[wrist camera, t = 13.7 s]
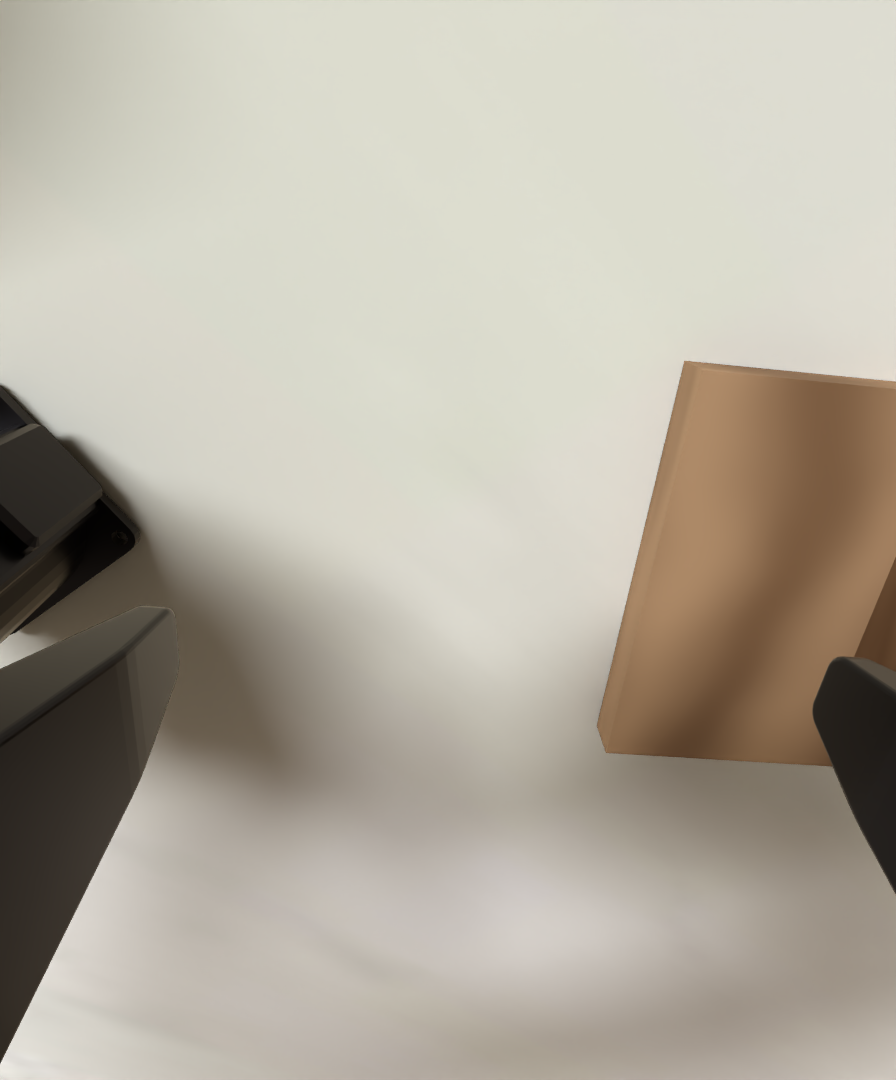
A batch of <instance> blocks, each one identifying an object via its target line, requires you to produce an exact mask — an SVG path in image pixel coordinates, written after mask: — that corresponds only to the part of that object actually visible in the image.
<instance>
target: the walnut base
mask: <svg viewBox="0 0 896 1080" xmlns="http://www.w3.org/2000/svg"><path fill="white" fill-rule="evenodd" d="M839 656H846V657H860V658H866V659H870V660H872V661H874V662H876V663H878V664H880V665H883V666H885V667H887V668H889V669H891V670H893V671H895V672H896V382H893V381H883V380H872V379H862V378H852V377H842V376H832V375H822V374H812V373H802V372H792V371H782V370H771V369H761V368H751V367H741V366H731V365H721V364H711V363H701V362H691V361H684V365H683V369H682V373H681V378H680V382H679V386H678V390H677V394H676V398H675V403H674V407H673V411H672V415H671V419H670V423H669V428H668V432H667V436H666V440H665V444H664V448H663V453H662V457H661V461H660V465H659V469H658V473H657V478H656V482H655V486H654V490H653V494H652V498H651V502H650V507H649V511H648V515H647V519H646V523H645V527H644V532H643V536H642V540H641V544H640V548H639V552H638V557H637V561H636V565H635V569H634V573H633V577H632V582H631V586H630V590H629V594H628V598H627V602H626V606H625V611H624V615H623V619H622V623H621V627H620V631H619V636H618V640H617V644H616V648H615V652H614V656H613V661H612V665H611V669H610V673H609V677H608V681H607V686H606V690H605V694H604V698H603V702H602V706H601V711H600V715H599V719H598V723H597V728H598V730H599V733H600V736H601V739H602V742H603V745H604V748H605V751H606V753H618V754H635V755H652V756H668V757H685V758H702V759H718V760H735V761H752V762H768V763H785V764H802V765H818V766H832V763H831V761H830V759H829V756H828V754H827V752H826V749H825V747H824V745H823V742H822V740H821V737H820V735H819V733H818V730H817V728H816V726H815V723H814V720H813V715H812V708H813V702H814V700H815V697H816V695H817V692H818V690H819V687H820V685H821V682H822V680H823V677H824V675H825V672H826V670H827V667H828V665H829V663H830V662H831V661H832V660H833V659H834V658H837V657H839Z"/></svg>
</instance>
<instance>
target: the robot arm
mask: <svg viewBox="0 0 896 1080" xmlns="http://www.w3.org/2000/svg"><path fill="white" fill-rule="evenodd" d="M117 531H120V532H123V533H124V534H126V536H127V538H128V540H122V539H121V538H119V537H118V535H117ZM139 539H140V532H139V529H138V528H137V526H136V525H135V524H134V523H133V522H132V521H131V520H130V519H129V518H128V517H127V516H126V515H125V514H124V513H123V512H122V511H121V510H120V509H119V508H118V507H117V505H116V504H115V503H114V502H113V501H112V500H111V499H110V498H109V497H108V496H107V495H106V494H105V493H104V492H103V491H102V488H101V485H100V484H99V483H98V482H97V481H96V480H95V479H94V478H93V477H92V476H91V475H90V474H89V473H88V472H87V471H86V470H85V469H84V468H83V467H82V466H81V465H80V464H79V462H78V461H77V460H76V459H75V458H74V457H73V456H72V455H71V454H70V453H69V452H68V451H67V450H66V449H65V448H64V447H63V446H62V445H61V444H60V443H59V442H58V441H57V440H56V439H55V438H54V437H53V436H52V435H51V434H50V433H49V432H48V430H47V429H46V428H45V427H43V426H41V425H38V424H37V423H36V422H35V421H34V420H33V419H32V418H31V417H30V416H29V415H28V414H27V413H26V412H25V411H24V410H23V409H22V408H21V407H20V406H19V405H18V403H17V402H16V401H15V400H14V399H13V398H12V397H11V396H10V395H9V394H8V393H7V392H6V391H5V390H4V389H3V388H2V387H1V386H0V643H2V642H3V641H4V640H5V639H6V638H7V637H8V636H9V635H11V634H13V633H16V632H17V631H18V630H20V629H21V628H22V627H24V626H25V625H27V624H28V623H29V622H31V621H32V620H34V619H35V618H36V617H38V616H39V615H41V614H42V613H43V612H45V611H46V610H48V609H49V608H50V607H52V606H53V605H55V604H56V603H57V602H59V601H60V600H62V599H63V598H64V597H66V596H67V595H69V594H70V593H71V592H73V591H74V590H76V589H77V588H78V587H80V586H81V585H82V584H84V583H85V582H87V581H88V580H89V579H91V578H92V577H94V576H95V575H96V574H98V573H99V572H101V571H102V570H103V569H105V568H106V567H108V566H109V565H110V564H112V563H113V562H115V561H116V560H117V559H119V558H120V557H122V556H123V555H124V554H126V553H127V552H129V551H130V550H131V549H132V548H133V547H134V546H135V545H136V544H137V543H138V541H139ZM178 669H179V653H178V641H177V628H176V618H175V614H174V612H173V611H172V609H170V608H167V607H157V606H138V607H135V608H133V609H131V610H129V611H127V612H124V613H122V614H120V615H118V616H116V617H113V618H111V619H109V620H107V621H105V622H102V623H100V624H98V625H96V626H94V627H91V628H89V629H87V630H85V631H83V632H80V633H78V634H76V635H74V636H72V637H69V638H67V639H65V640H63V641H61V642H58V643H56V644H54V645H52V646H50V647H47V648H45V649H43V650H41V651H39V652H36V653H34V654H32V655H30V656H27V657H25V658H23V659H21V660H19V661H16V662H14V663H12V664H10V665H8V666H5V667H3V668H1V669H0V1063H1V1061H2V1059H3V1057H4V1055H5V1053H6V1051H7V1049H8V1047H9V1045H10V1043H11V1041H12V1039H13V1037H14V1035H15V1033H16V1031H17V1029H18V1027H19V1025H20V1023H21V1021H22V1019H23V1017H24V1015H25V1013H26V1011H27V1009H28V1007H29V1005H30V1002H31V1000H32V998H33V996H34V994H35V992H36V990H37V988H38V986H39V984H40V982H41V980H42V978H43V976H44V974H45V972H46V970H47V968H48V966H49V964H50V962H51V960H52V958H53V956H54V954H55V952H56V950H57V948H58V946H59V944H60V942H61V940H62V938H63V936H64V934H65V932H66V930H67V928H68V926H69V924H70V922H71V920H72V918H73V916H74V914H75V912H76V910H77V908H78V906H79V904H80V901H81V899H82V897H83V895H84V893H85V891H86V889H87V887H88V885H89V883H90V881H91V879H92V877H93V875H94V873H95V871H96V869H97V867H98V865H99V863H100V861H101V859H102V857H103V855H104V853H105V851H106V849H107V847H108V845H109V843H110V841H111V839H112V837H113V835H114V833H115V831H116V829H117V827H118V825H119V823H120V821H121V819H122V817H123V815H124V813H125V811H126V809H127V807H128V805H129V802H130V800H131V798H132V796H133V794H134V792H135V790H136V788H137V786H138V783H139V781H140V779H141V777H142V774H143V771H144V769H145V766H146V764H147V761H148V758H149V755H150V752H151V750H152V747H153V744H154V741H155V738H156V735H157V733H158V730H159V727H160V724H161V721H162V719H163V716H164V713H165V710H166V707H167V704H168V702H169V699H170V696H171V693H172V690H173V688H174V685H175V682H176V679H177V675H178ZM812 715H813V720H814V723H815V726H816V728H817V730H818V733H819V735H820V737H821V740H822V742H823V745H824V747H825V749H826V752H827V754H828V756H829V759H830V761H831V763H832V766H833V768H834V771H835V773H836V775H837V778H838V780H839V782H840V785H841V787H842V789H843V792H844V794H845V797H846V799H847V801H848V804H849V806H850V808H851V810H852V812H853V815H854V817H855V819H856V821H857V823H858V825H859V827H860V829H861V831H862V833H863V835H864V837H865V839H866V840H867V842H868V844H869V846H870V848H871V850H872V851H873V853H874V855H875V857H876V859H877V861H878V863H879V864H880V866H881V868H882V870H883V872H884V874H885V875H886V877H887V879H888V881H889V883H890V885H891V887H892V888H893V890H894V892H895V894H896V672H895V671H893V670H891V669H889V668H887V667H885V666H883V665H880V664H878V663H876V662H874V661H872V660H870V659H866V658H860V657H846V656H839V657H837V658H834V659H833V660H832V661H831V662H830V663H829V665H828V667H827V670H826V672H825V675H824V677H823V680H822V682H821V685H820V687H819V690H818V692H817V695H816V697H815V700H814V702H813V708H812Z"/></svg>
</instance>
